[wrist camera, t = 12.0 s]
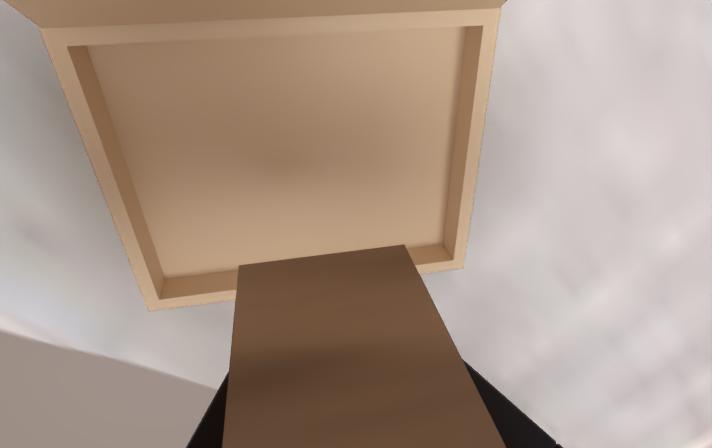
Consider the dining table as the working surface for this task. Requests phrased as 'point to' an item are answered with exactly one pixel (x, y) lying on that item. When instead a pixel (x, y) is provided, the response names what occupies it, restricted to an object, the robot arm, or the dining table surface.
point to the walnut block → (347, 359)
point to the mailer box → (280, 139)
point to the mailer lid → (217, 10)
